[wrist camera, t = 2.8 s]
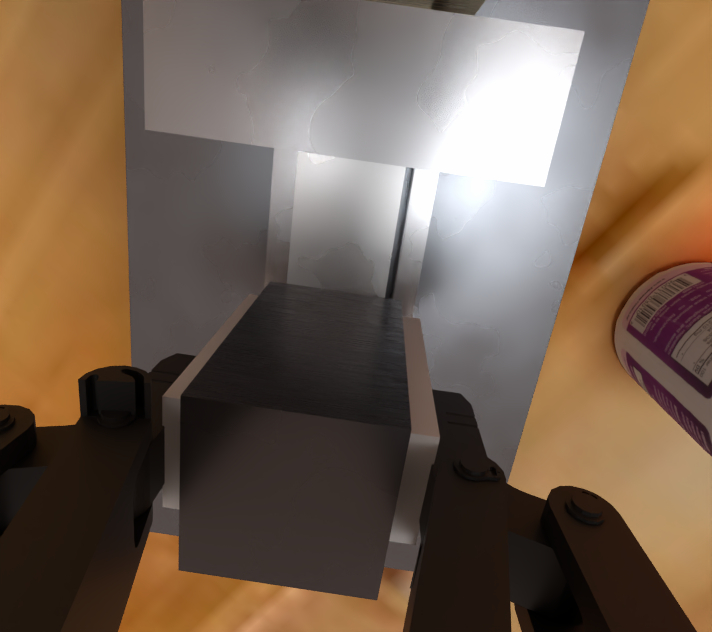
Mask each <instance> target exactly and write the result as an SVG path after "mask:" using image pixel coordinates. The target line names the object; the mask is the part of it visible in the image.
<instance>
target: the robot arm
mask: <svg viewBox="0 0 712 632" xmlns="http://www.w3.org/2000/svg"><path fill="white" fill-rule="evenodd" d="M258 296H259V295H254V294H249V295H248V296H247V297H246V298H245V299H244V301H243V302H242V303H241V304H240V305H239V306H238V308H237V309H236V310H235V311H234V312H233V314H232V315H231V316H230V317H229V318H228V319H227V321H226V322H225V323H224V324H223V325H222V326H221V328H220V329H219V330H218V331H217V332H216V334H215V335H214V336H213V337H212V338H211V339H210V341H209V342H208V343H207V344H206V345H205V347H204V348H203V349H202V350H201V351H200V352H199V354H198V355H197V356H194V355H187V354H180V353H176V354H174V355H172V356H169V357H167V358H165V359H163V360H161V361H160V362H159V363H158V364H157V365H156V366H155V367H154V368H153V369H152V370H151V372H149V373H147V372H146V371H144V370H142V369H139V368H137V367H130V366H109V367H104V368H99V369H96V370H93V371H91V372H88V373H86V374H85V375H83V376H82V377H81V378H80V379H78V383H79V397H80V411H81V417H80V419H79V420H78V422H77V423H76V425H67V426H48V427H36V424H35V415H34V414H33V413H32V411H31V410H30V409H27V408H24V407H21V406H16V405H0V632H118V629H119V626H120V623H121V620H122V617H123V614H124V610H125V607H126V604H127V601H128V598H129V595H130V591H131V588H132V585H133V582H134V579H135V576H136V572H137V569H138V566H139V563H140V560H141V557H142V553H143V550H144V547H145V544H146V541H147V538H148V534H149V531H150V528H151V525H152V522H153V501H154V499H155V498H156V496H157V495H158V493H159V492H160V490H161V488H162V487H163V507H165V508H172V509H179V487H180V396H181V394H182V393H183V392H184V390H185V389H186V388H187V387H188V385H189V384H190V383H191V381H192V380H193V379H194V378H195V376H196V375H197V374H198V373H199V371H200V370H201V369H202V367H203V366H204V365H205V364H206V362H207V361H208V360H209V359H210V357H211V356H212V355H213V353H214V352H215V351H216V350H217V348H218V347H219V346H220V344H221V343H222V342H223V341H224V339H225V338H226V337H227V336H228V334H229V333H230V332H231V330H232V329H233V328H234V327H235V325H236V324H237V323H238V322H239V320H240V319H241V318H242V316H243V315H244V314H245V313H246V311H247V310H248V309H249V307H250V306H251V305H252V304H253V302H254V301H255V300H256V299H257V297H258ZM402 317H403V329H404V342H405V354H406V367H407V379H408V392H409V404H410V416H411V429H412V430H411V435H410V440H409V445H408V450H407V455H406V460H405V465H404V470H403V475H402V480H401V485H400V489H399V494H398V499H397V504H396V509H395V514H394V519H393V524H392V529H391V534H390V539H389V541H392V542H398V543H405V544H411V545H416V541H417V537H418V532H419V528H420V536H421V543H420V547H419V551H418V556H417V560H416V564H415V569H414V573H413V577H412V582H411V586H410V588H411V592H410V597H409V602H408V607H407V613H406V618H405V623H404V628H403V632H511V610H510V601H511V602H513V603H514V605H515V611H516V614H517V617H518V621H519V624H520V627H521V630H522V632H697V631H696V630H695V628H694V627H693V625H692V624H691V622H690V620H689V619H688V617H687V616H686V614H685V613H684V611H683V610H682V608H681V607H680V605H679V604H678V602H677V601H676V599H675V598H674V596H673V595H672V593H671V591H670V590H669V588H668V587H667V585H666V584H665V582H664V581H663V579H662V578H661V576H660V575H659V573H658V572H657V570H656V569H655V567H654V566H653V564H652V562H651V561H650V559H649V558H648V556H647V555H646V553H645V552H644V550H643V549H642V547H641V546H640V544H639V543H638V541H637V540H636V538H635V537H634V535H633V534H632V532H631V530H630V529H629V527H628V526H627V524H626V523H625V521H624V520H623V518H622V517H621V515H620V514H619V513H618V512H617V510H616V509H615V508H614V507H613V506H612V505H611V504H610V503H608V502H607V501H606V500H604V499H603V498H601V497H600V496H598V495H597V494H595V493H593V492H590V491H588V490H585V489H582V488H577V487H573V486H559V487H557V488H554V489H552V490H551V492H550V494H549V495H548V498H547V500H544V499H541V498H538V497H536V496H533V495H530V494H527V493H525V492H522V491H520V490H518V489H516V488H514V487H512V486H510V485H509V484H507V483H506V477H505V474H504V471H503V470H502V469H501V468H500V467H499V466H498V464H497V463H496V462H494V461H492V460H491V459H489V458H488V457H487V454H486V451H485V447H484V444H483V441H482V438H481V434H480V431H479V428H478V425H477V421H476V419H475V415H474V411H473V408H472V405H471V404H470V403H469V402H468V401H467V400H466V399H465V398H464V396H463V395H462V394H461V393H454V392H447V391H440V390H434V389H432V387H431V381H430V375H429V369H428V363H427V358H426V352H425V346H424V340H423V334H422V328H421V322H420V319H419V318H412V317H405V316H402Z"/></svg>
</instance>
